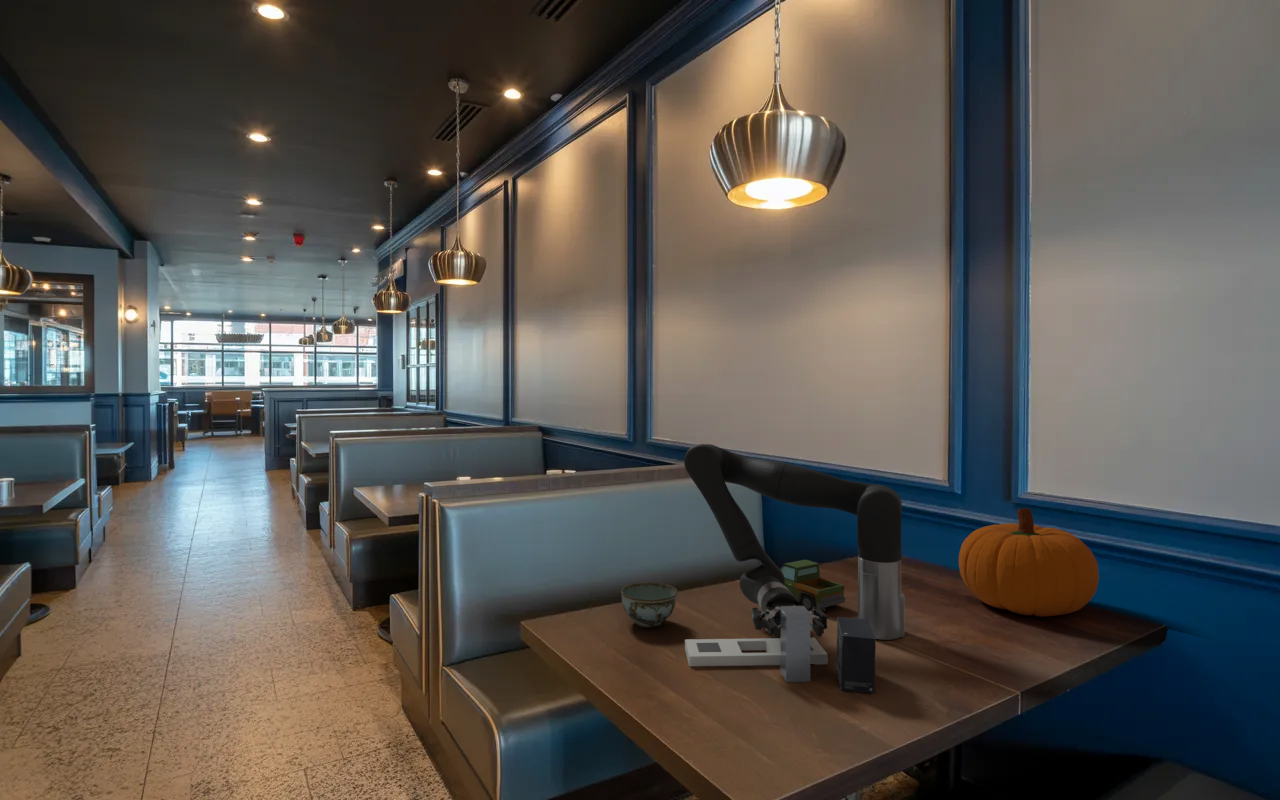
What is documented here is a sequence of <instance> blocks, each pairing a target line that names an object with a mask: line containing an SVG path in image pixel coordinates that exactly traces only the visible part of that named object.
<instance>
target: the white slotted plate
mask: <svg viewBox="0 0 1280 800" xmlns="http://www.w3.org/2000/svg"><path fill="white" fill-rule="evenodd" d="M684 651H685V655H686V658H687V663H688V666H689V667H720V666H721V667H732V666H733V667H736V666H737V667H740V666H743V667H744V666H781V637H778V638H777V637H773V638H768V637H767V638H764V637H762V638H708V639H707V638H706V639H705V638H703V639H701V638H700V639H699V638H698V639H697V638H695V639H690V638H689V639H684ZM742 651H765V652H742ZM828 658H829V657H828V653H827V652H826V651H825V649H824V648H823V646H822V645H821V644H820V643H819V641H818V640H817V639H816V638H815V637H810V664H815V665H828V662H829V661H828Z"/></svg>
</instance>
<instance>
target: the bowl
mask: <svg viewBox="0 0 1280 800" xmlns="http://www.w3.org/2000/svg"><path fill="white" fill-rule="evenodd" d="M620 589H621V590H620V594H621V602H622V607H623V609H624V611H625V613H626V614H627V616H628V617H629V618H630V619H632V620H633V621H635V624H636V626H638V627H640V628H643V629H644V628H645V629H655V628H657V627H660V626H661V625H662V624H663V622H664V621H666V620H667V619H668V618H670V616H671V615H672V614H673V611H674V609H675V607H676V601H677V595H678V593H679V590H678V589H677V588H676V587H675V586H673V585H670V584H667V583H661V582H655V581H654V582H651V581H650V582H647V581H646V582H643V581H642V582H636V583H635V582H634V583H630V584H627V585H625V586H623V587H622V588H620Z"/></svg>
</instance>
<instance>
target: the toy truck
mask: <svg viewBox="0 0 1280 800" xmlns="http://www.w3.org/2000/svg"><path fill="white" fill-rule="evenodd" d="M779 569H780V570H781V571H782V573H783V575H784V578H785V584H784V586H785V587H787V588H788V589H789V590H790V592H791V593H792V594H793V595H794V596H795V598H796V599H797V600H798V602H799V603H801V606H804V607H805V608H806V609H807V610H808V611H812V609H813V607H818V608H819V609H820V610H821V611H826V608H829V607H833V606H837V605H839V604H840V605H841V604H844V603H845V602H846V597H845V596H844V595H845V593H844V592H845V585H844V584H841V583H838V582H835V581H833V580H828V579H826V578H822V577H821V574H820V573H821V572H820V565H819V562H815V561H812V560H808V559H802V560H797V561H791V562H786V563H783V564H782V566H781V567H780V568H779Z"/></svg>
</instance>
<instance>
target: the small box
mask: <svg viewBox="0 0 1280 800" xmlns="http://www.w3.org/2000/svg"><path fill="white" fill-rule="evenodd" d="M836 624H837V625H836V627H837V628H836V629H837V630H836V631H837V632H836V633H837V635H836V658H835V659H836V662H835V669H836V675H837V680H838V686H839V691H844V692H845V691H846V692H854V693H855V692H856V693H857V692H858V693H866V694H875V690H876V689H875V687H876V683H875V682H876V645H877V644H876V642H877V641H876V640H877V639H876V638H875V636H874V633H873V631H872V628H871V625H870V623H869V620H865V619H858V618H853V617H844V616H837V617H836Z"/></svg>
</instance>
